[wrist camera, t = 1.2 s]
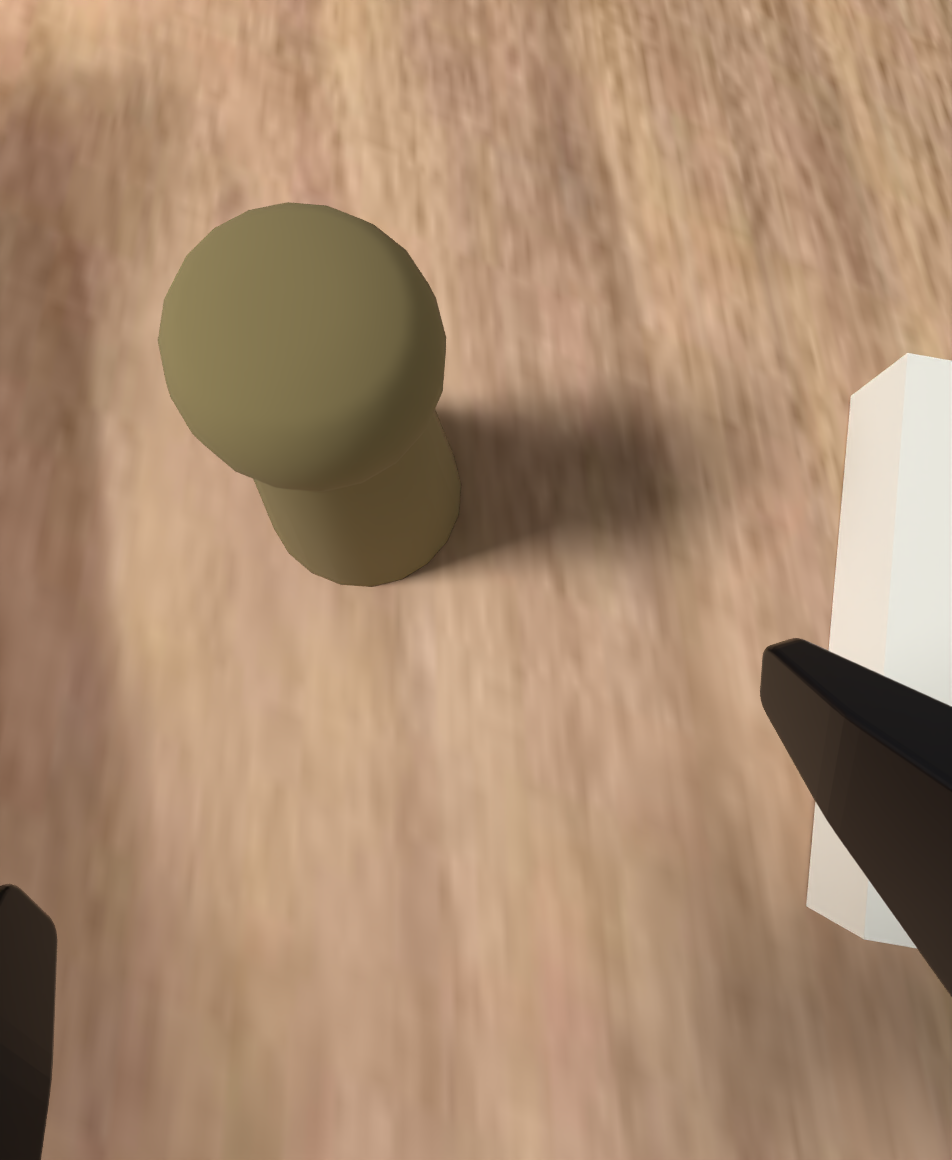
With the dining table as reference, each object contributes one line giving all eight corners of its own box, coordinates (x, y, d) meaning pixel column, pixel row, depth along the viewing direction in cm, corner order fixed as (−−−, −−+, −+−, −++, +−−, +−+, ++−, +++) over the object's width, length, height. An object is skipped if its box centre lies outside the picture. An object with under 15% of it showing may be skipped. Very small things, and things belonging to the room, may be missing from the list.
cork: (229, 523, 23) (24, 358, 12) (335, 366, 23) (237, 81, 13) (396, 623, 22) (344, 549, 11) (496, 461, 23) (537, 250, 12)
